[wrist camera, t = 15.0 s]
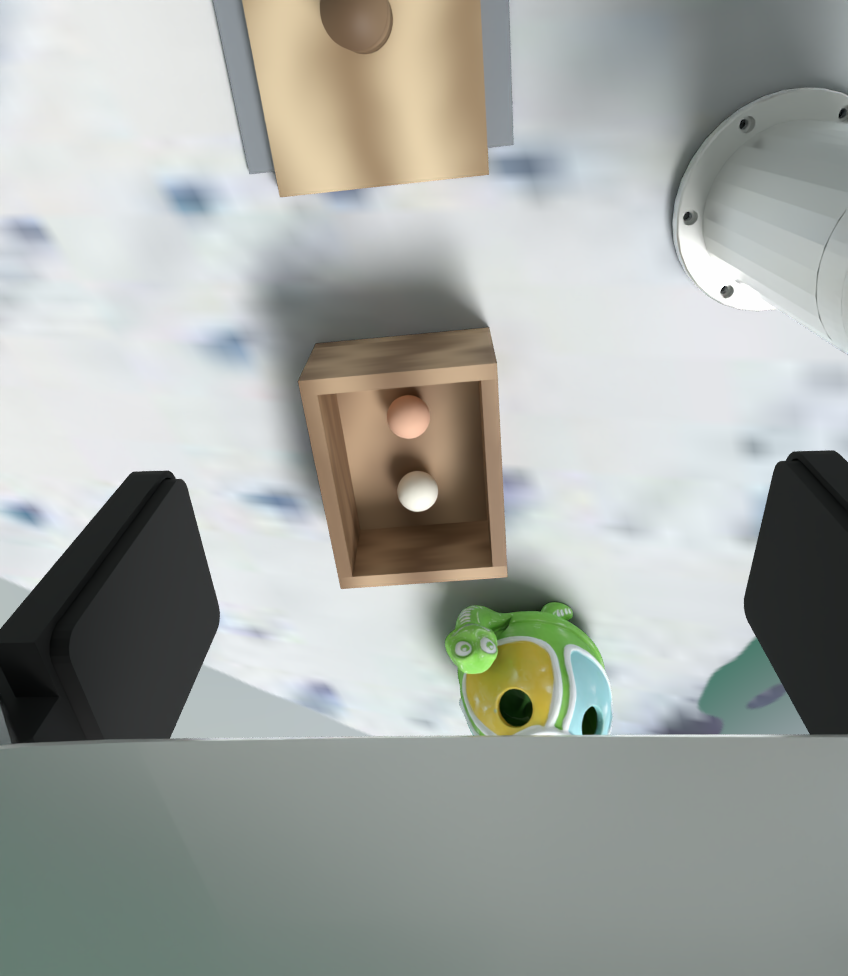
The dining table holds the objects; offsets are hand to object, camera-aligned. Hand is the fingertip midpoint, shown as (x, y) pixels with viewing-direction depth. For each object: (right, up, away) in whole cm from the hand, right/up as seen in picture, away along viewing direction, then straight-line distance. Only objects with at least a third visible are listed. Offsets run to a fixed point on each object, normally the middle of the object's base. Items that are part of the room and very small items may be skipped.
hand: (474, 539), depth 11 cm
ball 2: (-1, +1, +39) cm, 39 cm away
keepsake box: (-2, +4, +40) cm, 40 cm away
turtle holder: (+8, -13, +50) cm, 52 cm away
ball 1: (-2, +6, +36) cm, 37 cm away
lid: (-4, +27, +26) cm, 38 cm away
